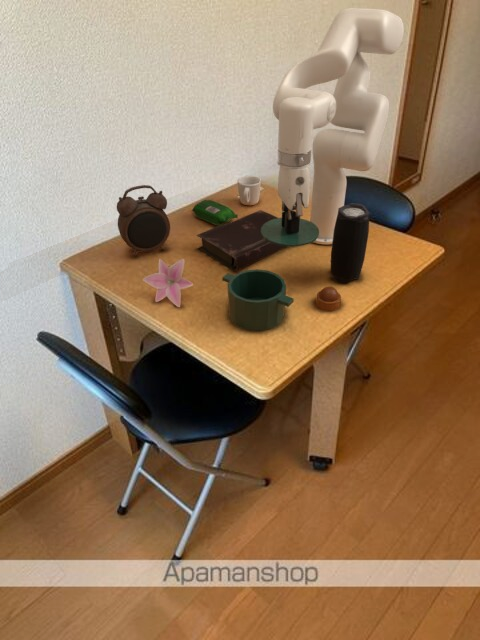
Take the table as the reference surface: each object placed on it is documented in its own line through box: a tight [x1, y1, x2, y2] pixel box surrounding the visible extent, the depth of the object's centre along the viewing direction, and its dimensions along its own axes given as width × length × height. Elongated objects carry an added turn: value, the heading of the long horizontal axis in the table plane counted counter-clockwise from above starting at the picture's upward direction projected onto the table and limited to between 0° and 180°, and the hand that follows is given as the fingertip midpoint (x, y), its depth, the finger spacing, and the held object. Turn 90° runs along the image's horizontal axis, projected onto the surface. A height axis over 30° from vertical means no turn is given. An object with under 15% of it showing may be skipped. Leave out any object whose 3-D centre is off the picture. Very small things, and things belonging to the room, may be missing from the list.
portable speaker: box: [329, 202, 371, 284], centre depth 129 cm, size 9×9×20 cm
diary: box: [196, 209, 288, 272], centre depth 147 cm, size 19×25×5 cm
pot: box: [221, 268, 295, 332], centre depth 120 cm, size 14×19×8 cm
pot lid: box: [261, 212, 319, 248], centre depth 123 cm, size 15×15×6 cm
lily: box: [142, 258, 194, 308], centre depth 127 cm, size 12×12×10 cm
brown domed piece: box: [315, 286, 342, 312], centre depth 124 cm, size 6×6×5 cm
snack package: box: [191, 198, 239, 227], centre depth 160 cm, size 7×16×5 cm, turn 46°
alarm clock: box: [116, 184, 171, 258], centre depth 141 cm, size 15×7×20 cm, turn 114°
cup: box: [237, 175, 262, 206], centre depth 168 cm, size 11×8×8 cm
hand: (290, 228), depth 124 cm, fingers closed on pot lid, 2 cm apart
